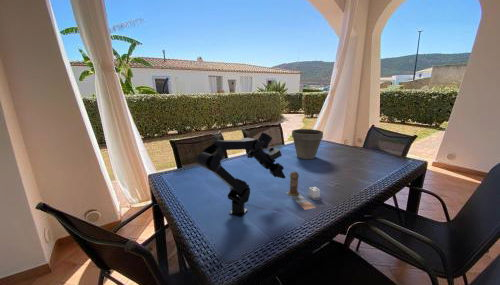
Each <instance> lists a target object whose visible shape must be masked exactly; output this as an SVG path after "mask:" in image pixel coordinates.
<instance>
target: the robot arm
mask: <svg viewBox="0 0 500 285" xmlns="http://www.w3.org/2000/svg"><path fill="white" fill-rule="evenodd" d="M272 141H273V138H272V136H271V135H269V134H267V132H261V134H260V135H259V138H258V139H256V138H252V137H244V138H241V139H236V140H235V139H231V140H229V139H227V140H225V139H216V140H215V141H213V143H211V144H210V145H208V146H207V147H206V148H204V149H203V150H202V151H201V152H200V153H199V154H198V155H197V157H196V164H197V166H199V167H201V168H202V169H204V170H206V171H207V170H208V172H209V171H210V172H211V173H213V175H215V176H216V177H218V178H219V179H220V180H221V181H222V182H223V183H225V184H226V185H227V186H229V190H230V191H229V192H228V194H227V199H228V200H230V201H231V210H230V211H229V212H228V214H229V215H232V216H237V217H239V218H241V217H243V216H244V215H245V213H247V211H248V208H245V204H246V203H248V202H249V200H250V195H251V194H250V193H251V187H250V185H249V184H248V183H247V182H246V181H245V180H242V179H240V178H237V177H234V176H233V175H232V174H231V173H230V172H229V171H227V169H225V168H224V167H223V166H222V162H221V161H222V160H223V157H224V154H225V152H226V151H234V150H235V151H237V150H244V151H245V150H246V151H249V152H247V155H246V156H247V159H253V158H254V159H255V160H256V161H257V162H258V163H259V165H260V166H262V167H263V168H264V169H266V170H269V174H271V175H272V177H274V178H280V179H286V175H285V174H284V172H283V170H284V166H283V165H282V164H281V163H279V162H276V159H278V158H280V157H282V156H283V155H282V152H281V150H280V149H279V148H277V147H274V148H273V147H272V146H270V144H271V142H272ZM269 146H270V147H269ZM268 147H269V148H268ZM267 149H268V152H266V151H264V150H267ZM215 152H216V153H215ZM213 153H215V154H213ZM275 162H276V163H275Z"/></svg>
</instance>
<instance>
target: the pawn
mask: <svg viewBox="0 0 500 285" xmlns="http://www.w3.org/2000/svg"><path fill="white" fill-rule="evenodd" d="M289 177H290V178H289V180H290V182H289V190H288V191H287V192H288V194H289V195H288V194H287V195H288V196H290V195H291V196H295V197H297V196H298V195H299V194H300V192H299V191H298V189H299V188H298V185H299V177H300V176H299V173H298V172H297V171H291V172H290V174H289ZM291 196H290V197H291Z"/></svg>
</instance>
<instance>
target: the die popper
mask: <svg viewBox="0 0 500 285" xmlns="http://www.w3.org/2000/svg"><path fill="white" fill-rule="evenodd" d="M306 197H307V199H310V200H312V201H319V200H321V198H322V196H321V189H319V188H318V187H317V186H311V187H308V193H307V195H306Z"/></svg>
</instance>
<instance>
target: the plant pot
mask: <svg viewBox="0 0 500 285" xmlns="http://www.w3.org/2000/svg"><path fill="white" fill-rule="evenodd" d="M291 137H292V138H293V139H292V140H293V144H294V149H295V153H296V157H297V158H299V159H302V160H313V159H315V158H316V156H317V153H318V150H319V147H320V144H321V142H322V139H323V138H324V131H322V130H318V129H310V128H296V129H294V130H292V131H291Z"/></svg>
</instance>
